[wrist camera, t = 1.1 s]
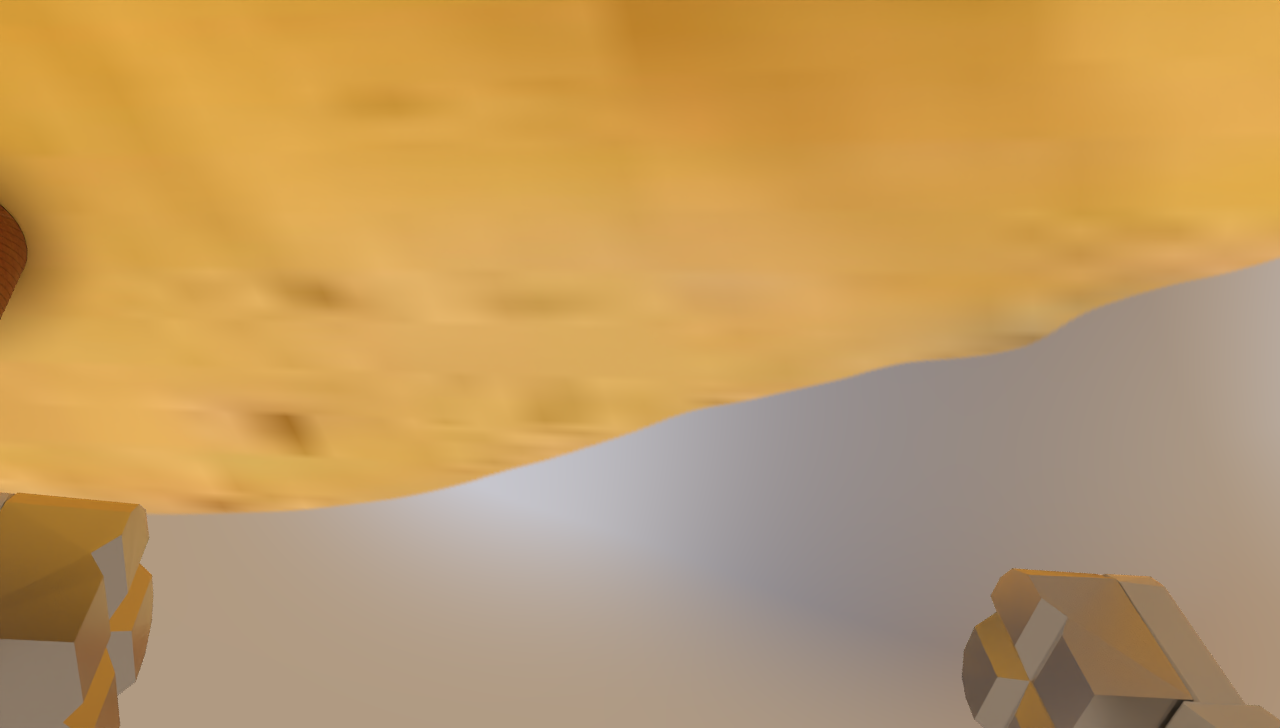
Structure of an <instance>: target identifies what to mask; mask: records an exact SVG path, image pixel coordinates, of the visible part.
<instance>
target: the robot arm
mask: <svg viewBox="0 0 1280 728" xmlns="http://www.w3.org/2000/svg"><path fill="white" fill-rule="evenodd" d="M148 540H149V532H148V524H147V515H146V509H144V508H143V507H142V506H141V505H140V504H131V503H120V502H110V501H99V500H89V499H79V498H68V497H58V496H47V495H37V494H26V493H17V494H11V493H1V492H0V728H119V727H120V718H119V707H118V698H117V696H118V695H119V694H120V693H122V692H123V691H124V690H125V689H127V688H128V687H129V686H131V685H132V684H133V683H135V682H136V680H137V676H138V673H139V671H140V668H141V665H142V662H143V659H144V656H145V653H146V647H147V643H148V637H149V633H150V628H151V623H152V611H153V582H152V575H151V574H150V573H149V572H148V571H147V570H146V569H145V568H144V567H143V566H142V565H141V564H140V561H141V558H142V555H143V553H144V550H145V548H146V545H147V543H148ZM991 598H992V601H993V604H994V606H995V609H996V613H994V614H993V615H991V616H990V617H989V618H987V619H985V620H984V621H983V622H981V623H979V624H978V625H976V626H975V627H974V629H973V631H972V634H971V636H970V638H969V640H968V642H967V644H966V647H965V649H964V654H963V668H962V681H963V686H964V692H965V697H966V700H967V702H968V705H969V707H970V710H971V713H972V715H973V717H974V720H976V721H977V722H978V723H979V724H980V725H981V726H982V727H983V728H1280V720H1279V719H1278V718H1276V717H1275V716H1273V715H1272V714H1270V713H1269V712H1268V711H1266V710H1265V709H1264V708H1262V707H1261V706H1256V705H1246V704H1245V703H1244V701H1243V700H1242V698H1241V697H1240V695H1239V694H1238V693H1237V691H1236V690H1235V688H1234V687H1233V685H1232V684H1231V682H1230V681H1229V679H1228V678H1227V677H1226V675H1225V674H1224V673H1223V671H1222V669H1221V668H1220V667H1219V665H1218V664H1217V662H1216V661H1215V659H1214V658H1213V656H1212V655H1211V653H1210V652H1209V650H1208V649H1207V647H1206V646H1205V645H1204V643H1203V642H1202V640H1201V639H1200V637H1199V636H1198V634H1197V633H1196V632H1195V630H1194V629H1193V627H1192V626H1191V624H1190V623H1189V621H1188V620H1187V618H1186V617H1185V615H1184V614H1183V613H1182V611H1181V610H1180V608H1179V607H1178V606H1177V604H1176V602H1175V601H1174V599H1173V598H1172V597H1171V595H1170V594H1169V592H1168V591H1167V589H1166V588H1165V587H1164V586H1163V585H1162V584H1161V583H1159V582H1158V581H1156V580H1155V579H1153V578H1152V577H1148V576H1131V575H1114V574H1104V575H1098V574H1090V573H1074V572H1059V571H1043V570H1028V569H1013V568H1012V569H1011V570H1010V571H1008V572H1007V573H1006V574H1004V575H1003V576H1002V577H1001V578H1000V579H999V581H998V583H997V585H996V587H995V589H994V590H993V592H992V594H991Z"/></svg>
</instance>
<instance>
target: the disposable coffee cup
mask: <svg viewBox="0 0 1280 728" xmlns="http://www.w3.org/2000/svg"><path fill="white" fill-rule="evenodd" d="M26 261H27V247H26V243H25V239H24V236H23V234H22V232H21V230H20V228H19V226H18V224H17V223H16V221H15V220H14V219H13V217H12V216H11V215H10V214H9V213H8V212H7V211H6V210H5V209H4V208H3V207H2V206H0V319H1V316H2V313H3V312H4V311H5V307H6V305H7V304H8V301H9V299H10V297H11V295H12V292H13V291H14V288H15V285H16V284H17V282H18V279H19V278H20V275H21V273H22V271H23V270H24V267H25V264H26Z"/></svg>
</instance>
